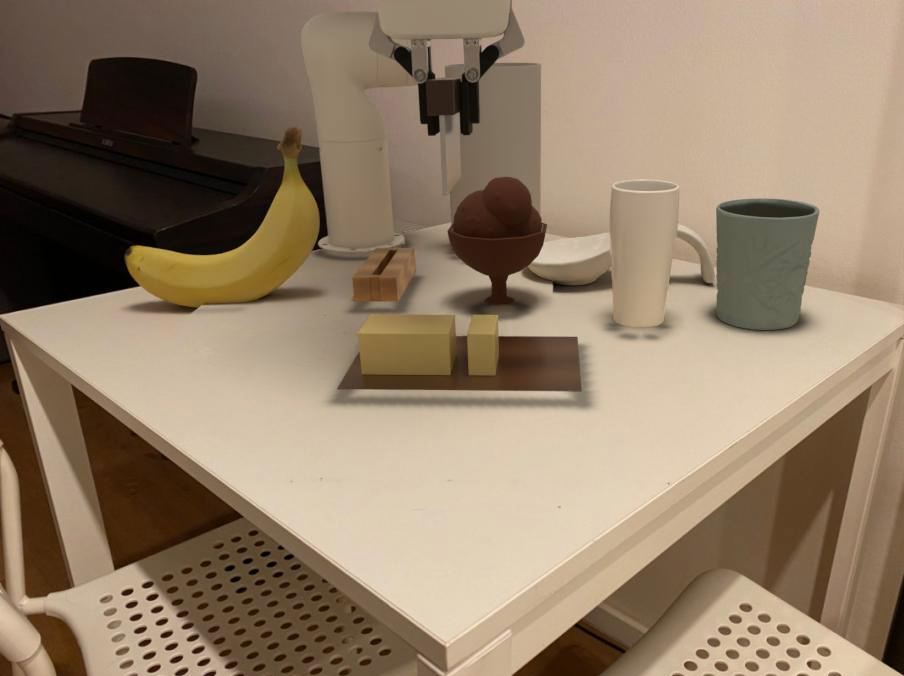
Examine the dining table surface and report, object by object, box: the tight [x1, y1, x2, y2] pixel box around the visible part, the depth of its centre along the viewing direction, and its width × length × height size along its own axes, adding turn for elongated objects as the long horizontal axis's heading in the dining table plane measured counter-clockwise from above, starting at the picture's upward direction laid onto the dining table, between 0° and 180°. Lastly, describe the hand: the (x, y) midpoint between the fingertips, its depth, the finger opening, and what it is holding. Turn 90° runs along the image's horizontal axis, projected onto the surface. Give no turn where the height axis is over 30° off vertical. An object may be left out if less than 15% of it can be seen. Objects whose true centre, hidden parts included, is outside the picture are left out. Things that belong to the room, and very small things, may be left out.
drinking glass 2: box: [608, 179, 681, 328], centre depth 82 cm, size 7×7×15 cm
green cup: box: [715, 198, 820, 331], centre depth 85 cm, size 10×10×12 cm
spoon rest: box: [527, 223, 715, 286], centre depth 100 cm, size 24×12×7 cm, turn 85°
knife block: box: [351, 247, 417, 302], centre depth 97 cm, size 13×5×4 cm, turn 176°
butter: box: [357, 313, 457, 375], centre depth 73 cm, size 5×8×4 cm, turn 87°
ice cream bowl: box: [446, 177, 548, 306], centre depth 88 cm, size 11×11×15 cm
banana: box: [124, 126, 321, 309], centre depth 90 cm, size 23×6×20 cm, turn 91°
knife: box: [426, 76, 462, 197], centre depth 66 cm, size 11×2×8 cm, turn 176°
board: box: [336, 335, 583, 393], centre depth 74 cm, size 13×21×1 cm, turn 87°
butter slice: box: [466, 314, 500, 376], centre depth 72 cm, size 5×2×4 cm, turn 177°
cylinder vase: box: [444, 62, 542, 250], centre depth 109 cm, size 12×12×25 cm
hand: (450, 131), depth 66 cm, fingers closed on knife, 2 cm apart
